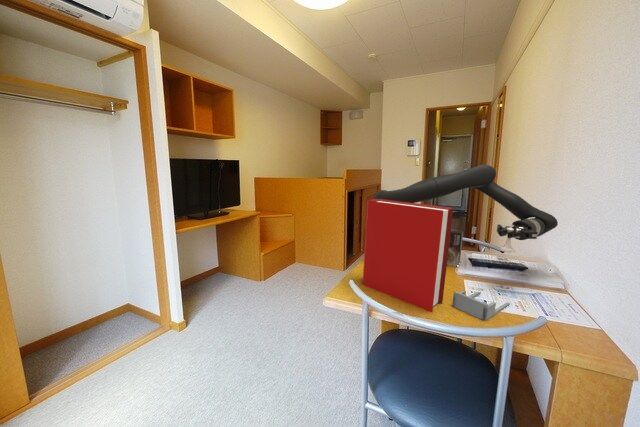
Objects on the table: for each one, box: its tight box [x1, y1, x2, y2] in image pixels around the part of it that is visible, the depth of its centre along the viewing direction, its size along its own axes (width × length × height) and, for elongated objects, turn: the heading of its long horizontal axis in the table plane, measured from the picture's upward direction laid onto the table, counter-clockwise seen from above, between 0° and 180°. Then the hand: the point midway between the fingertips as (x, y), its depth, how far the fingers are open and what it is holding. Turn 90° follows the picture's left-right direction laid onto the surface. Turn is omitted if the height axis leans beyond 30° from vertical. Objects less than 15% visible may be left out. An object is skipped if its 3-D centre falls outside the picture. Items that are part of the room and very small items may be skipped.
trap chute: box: [451, 290, 511, 322], centre depth 88 cm, size 10×17×5 cm, turn 124°
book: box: [362, 198, 454, 313], centre depth 93 cm, size 27×8×32 cm, turn 45°
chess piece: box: [498, 222, 516, 253], centre depth 97 cm, size 5×5×10 cm
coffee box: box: [447, 228, 464, 268], centre depth 126 cm, size 9×6×16 cm
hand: (504, 234), depth 94 cm, fingers closed on chess piece
